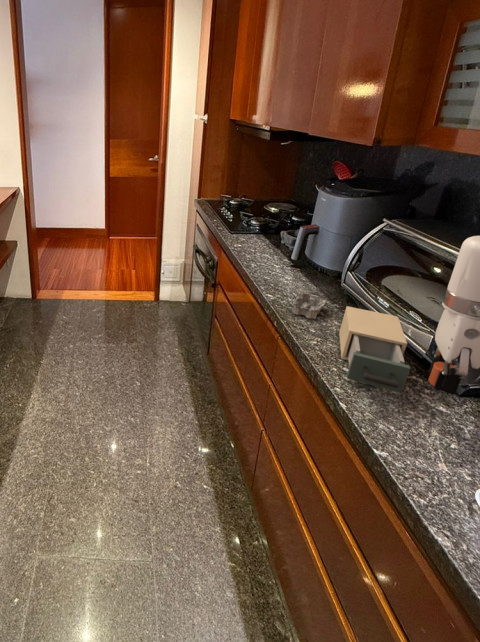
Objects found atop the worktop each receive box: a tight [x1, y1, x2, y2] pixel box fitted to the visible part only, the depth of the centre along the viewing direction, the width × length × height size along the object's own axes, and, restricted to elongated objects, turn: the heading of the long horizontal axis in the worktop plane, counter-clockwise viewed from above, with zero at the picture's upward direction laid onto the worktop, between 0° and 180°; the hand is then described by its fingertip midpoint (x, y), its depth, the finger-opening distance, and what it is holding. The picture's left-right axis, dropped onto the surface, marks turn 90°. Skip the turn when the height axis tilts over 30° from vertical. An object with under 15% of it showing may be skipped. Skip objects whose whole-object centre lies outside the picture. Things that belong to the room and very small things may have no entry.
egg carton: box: [291, 289, 326, 320], centre depth 118 cm, size 11×8×4 cm
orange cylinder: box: [427, 362, 457, 387], centre depth 77 cm, size 4×4×4 cm
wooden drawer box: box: [339, 305, 408, 361], centre depth 98 cm, size 13×11×8 cm
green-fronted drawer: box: [346, 334, 411, 394], centre depth 89 cm, size 17×10×7 cm, turn 152°
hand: (441, 382), depth 77 cm, fingers closed on orange cylinder, 4 cm apart
